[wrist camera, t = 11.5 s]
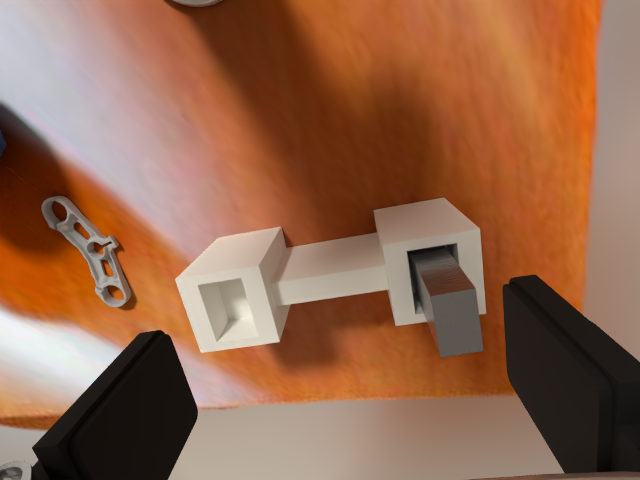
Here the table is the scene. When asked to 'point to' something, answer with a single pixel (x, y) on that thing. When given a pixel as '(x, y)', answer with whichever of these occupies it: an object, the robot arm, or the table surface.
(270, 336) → the double socket connector
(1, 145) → the decorative orb
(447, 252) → the gray rectangular block
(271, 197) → the table surface
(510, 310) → the robot arm
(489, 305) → the table surface
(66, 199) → the bracket
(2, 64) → the table surface
